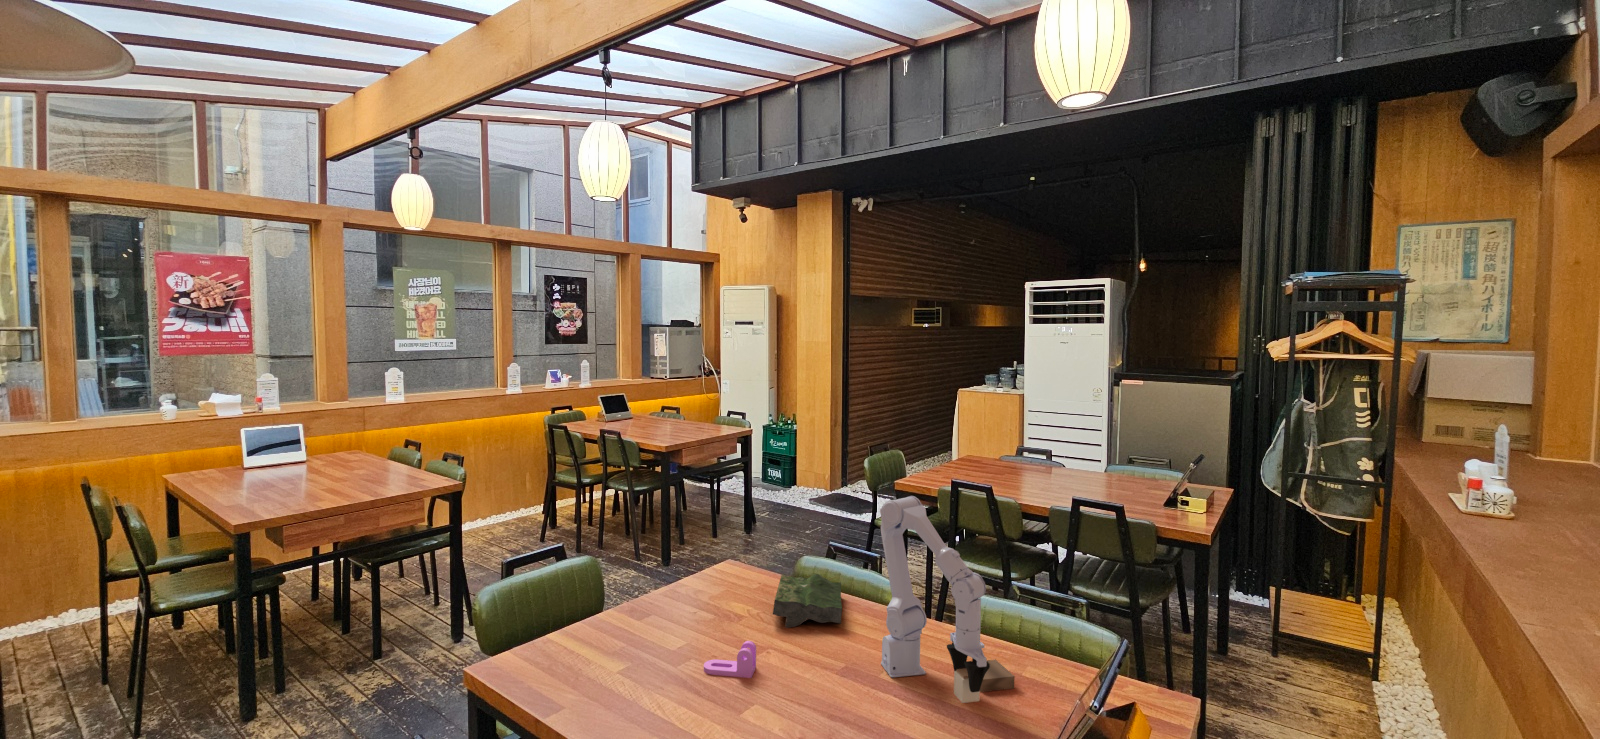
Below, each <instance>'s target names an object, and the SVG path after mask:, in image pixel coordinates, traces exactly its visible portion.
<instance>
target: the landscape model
mask: <svg viewBox="0 0 1600 739" xmlns="http://www.w3.org/2000/svg"><path fill="white" fill-rule="evenodd" d="M773 601H774V603H773V610H772V615H774V616H777V617H783V618H784V617H785V624H784V627H785V628H795V627H797V626H800V625H802V624H803V623H804V622H806V621H807V620H811V621H812V620H813V621H814V622H817V623H822V624H824V623H825V624H826V623H837V624H842V613H843V607H842V606H843V605H842V604H843V603H842V582H833V581H832V582H831V581H829V580H828V578H825V577H824V576H822V575H821V574H819V573H814V574H812V575H811V576H809V577H808V578H806V577H803V576H798V577H795V576H793V575H790V576H789V575H785V574H783V573H781V575H780V579H779V583H778V587H777V590H776V594H775V596H774V600H773Z"/></svg>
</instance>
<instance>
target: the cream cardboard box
mask: <svg viewBox="0 0 1600 739" xmlns="http://www.w3.org/2000/svg"><path fill="white" fill-rule="evenodd" d="M953 671H954V670H953ZM980 693H981V692H980V691H979V692H971V691H970V688H969V678H968V673H967V669H966V668H963V669H957V671H954V672H953V694H954V695H955V697H957V699H958V700H959V701H960V703H962V704H964V703H965V704H966V703H967V704H968V703H973V702H974V703H975V702H980V700H981V699H980Z"/></svg>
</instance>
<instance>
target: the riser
mask: <svg viewBox="0 0 1600 739" xmlns="http://www.w3.org/2000/svg"><path fill="white" fill-rule="evenodd" d="M987 662H988V663H989V664H990V668H989V669H988V670H987V672H986V674H985V676H984V678H983V681H982V684H981V688H980V693H984V692H992V690H995V691H1002V690H1003V689H1004V690H1012V689H1013V690H1014V689H1015V678H1016V676H1015V675H1014V674H1013V673H1012V672H1010V671H1009V670H1008V669H1007V668H1006V667H1005V666H1004V665H1003V664H1001V663H1000V662H999V660H997V659H988V660H987Z"/></svg>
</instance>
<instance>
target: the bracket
mask: <svg viewBox="0 0 1600 739" xmlns="http://www.w3.org/2000/svg"><path fill="white" fill-rule="evenodd" d="M756 668H757V645H756V644H755V642H754V641H751V640H746V641H744V642H743V643H742V645H741V648H740V649H739V651H738V652H737V655H736V660H726V659H717V658H715V659H709V660H706V661H705V662H704V663H703V672H704V673H705V674H707V675H713V676H714V675H715V676H722V677H723V676H724V677H737V678H745V679H752V678H753V675H754V672H755V671H756Z"/></svg>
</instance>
